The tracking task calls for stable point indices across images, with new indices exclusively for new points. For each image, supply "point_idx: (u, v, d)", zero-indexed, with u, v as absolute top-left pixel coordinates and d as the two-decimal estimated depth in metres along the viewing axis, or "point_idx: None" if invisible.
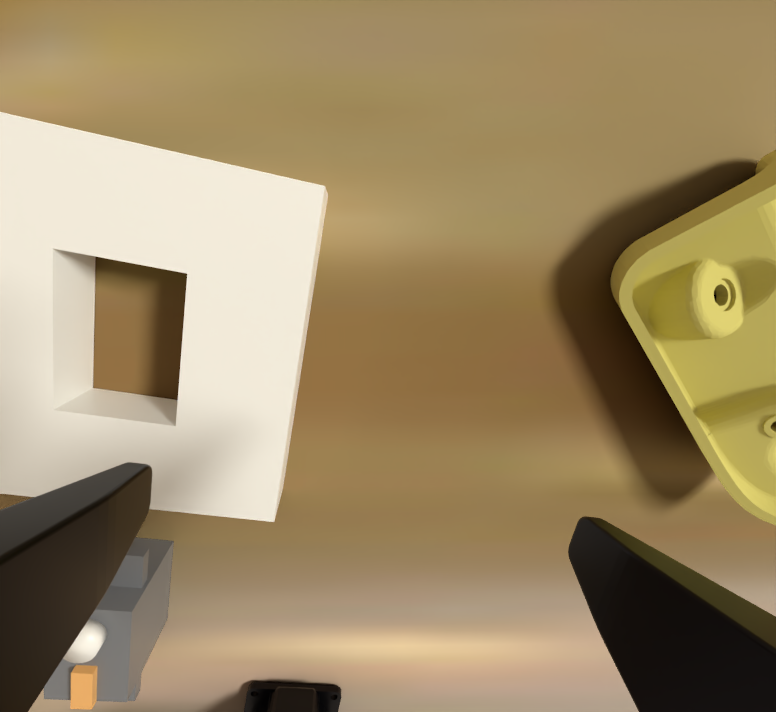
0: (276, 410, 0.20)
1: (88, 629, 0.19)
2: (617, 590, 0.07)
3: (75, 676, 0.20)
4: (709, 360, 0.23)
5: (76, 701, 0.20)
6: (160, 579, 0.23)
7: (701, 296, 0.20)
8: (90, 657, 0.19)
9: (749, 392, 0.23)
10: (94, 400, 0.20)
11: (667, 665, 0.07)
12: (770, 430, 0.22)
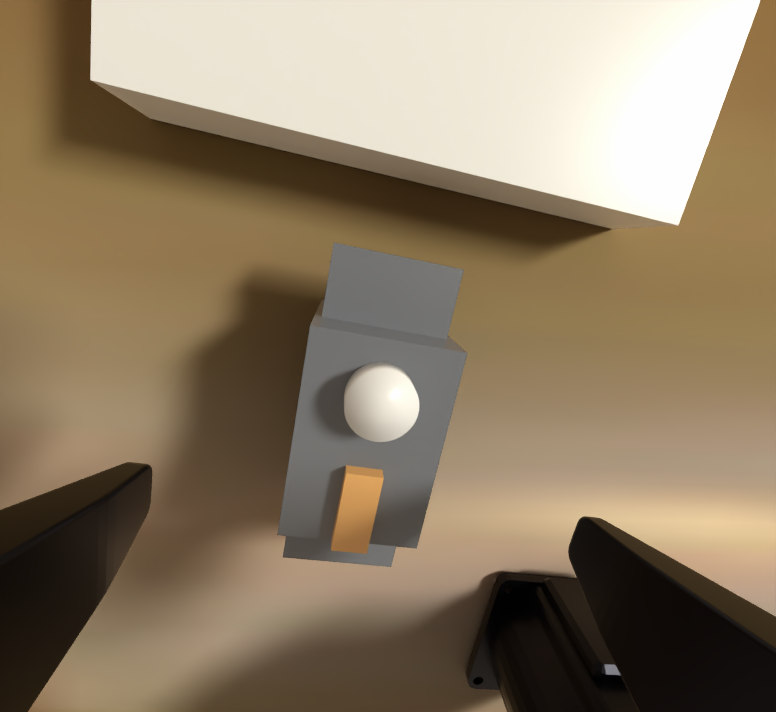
0: None
1: (400, 372, 0.10)
2: (617, 590, 0.07)
3: (352, 481, 0.10)
4: None
5: (344, 535, 0.11)
6: None
7: None
8: (401, 430, 0.10)
9: None
10: None
11: (668, 665, 0.07)
12: None
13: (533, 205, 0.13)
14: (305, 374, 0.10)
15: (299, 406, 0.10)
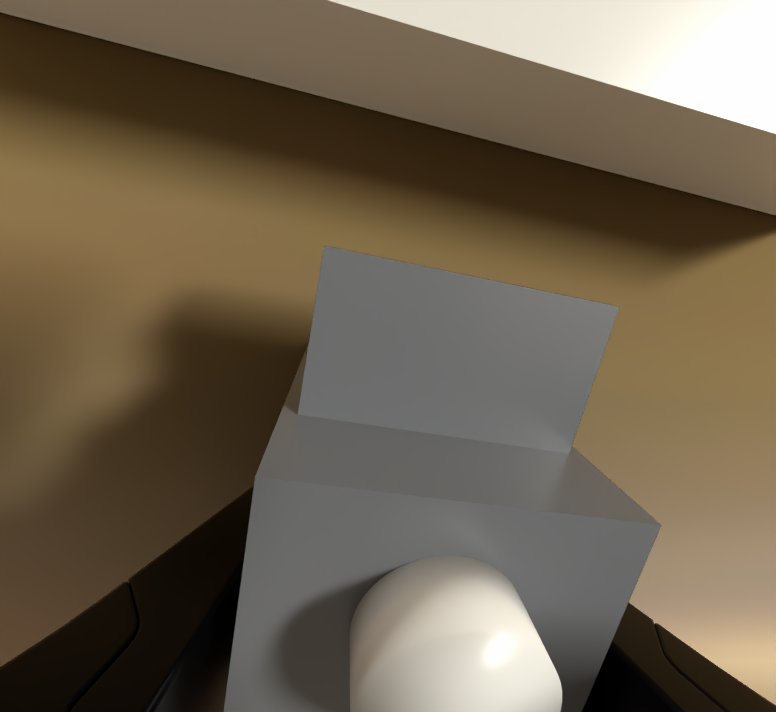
0: None
1: (506, 607, 0.03)
2: None
3: None
4: None
5: None
6: None
7: None
8: None
9: None
10: None
11: None
12: None
13: (694, 178, 0.07)
14: (247, 594, 0.04)
15: (234, 666, 0.04)
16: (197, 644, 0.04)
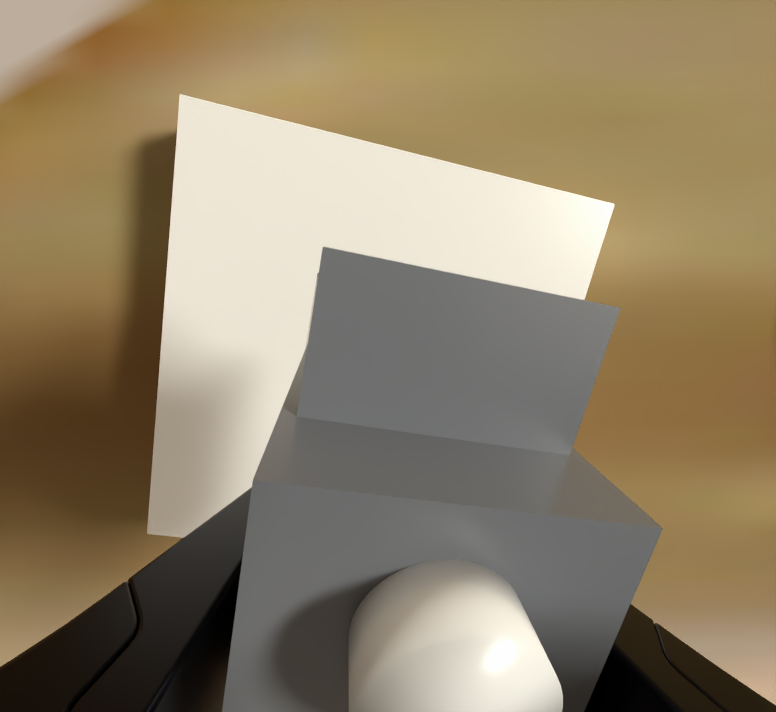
0: None
1: (506, 612, 0.03)
2: None
3: None
4: None
5: None
6: None
7: None
8: None
9: None
10: None
11: None
12: None
13: None
14: (245, 598, 0.04)
15: (232, 670, 0.04)
16: (197, 644, 0.04)
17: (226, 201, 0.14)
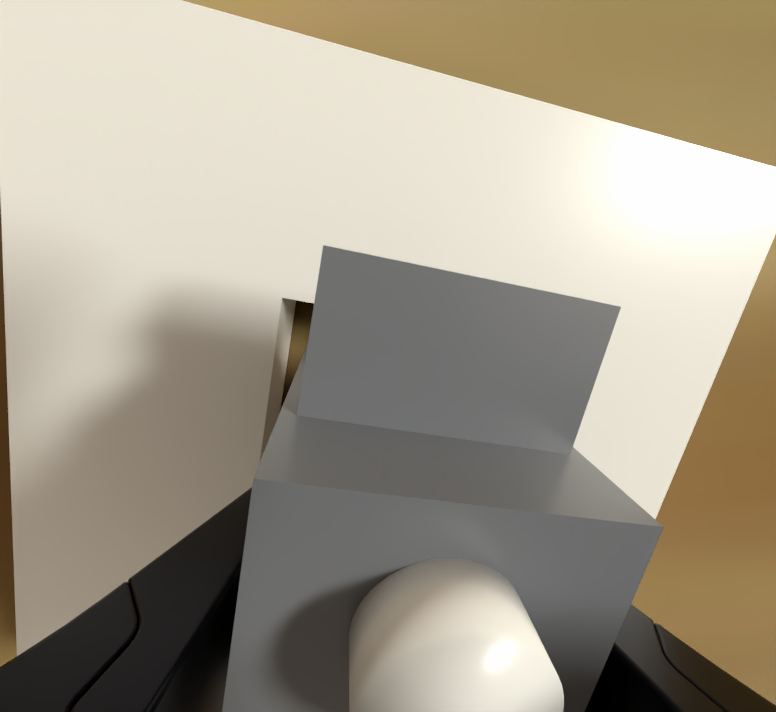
0: None
1: (507, 611, 0.03)
2: None
3: None
4: None
5: None
6: None
7: None
8: None
9: None
10: None
11: None
12: None
13: None
14: (245, 597, 0.04)
15: (232, 669, 0.04)
16: (197, 644, 0.04)
17: (105, 169, 0.07)
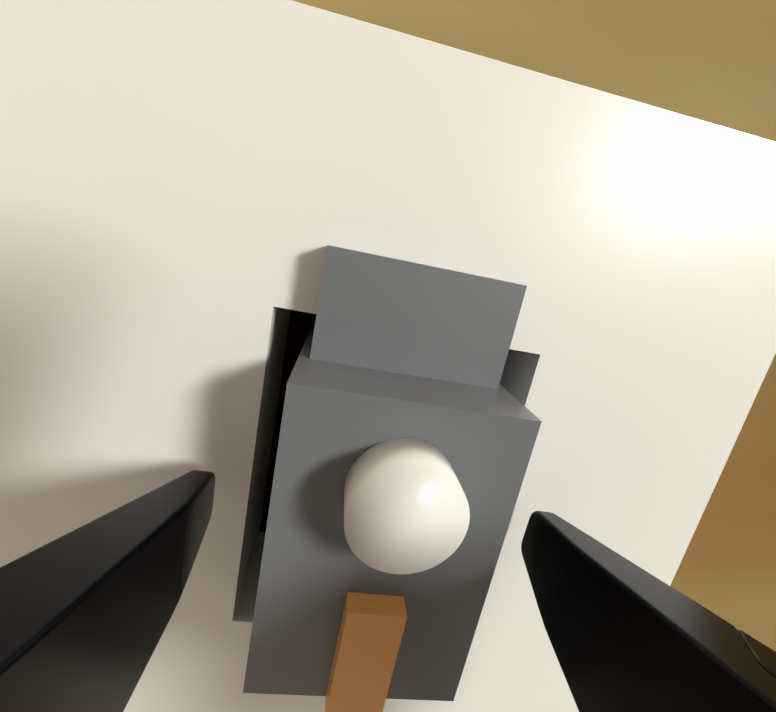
0: None
1: (438, 460, 0.06)
2: (561, 585, 0.07)
3: (357, 623, 0.07)
4: None
5: (345, 700, 0.07)
6: None
7: None
8: (439, 555, 0.06)
9: None
10: None
11: (605, 661, 0.06)
12: None
13: None
14: (280, 460, 0.06)
15: (272, 509, 0.06)
16: (51, 636, 0.04)
17: (67, 158, 0.06)
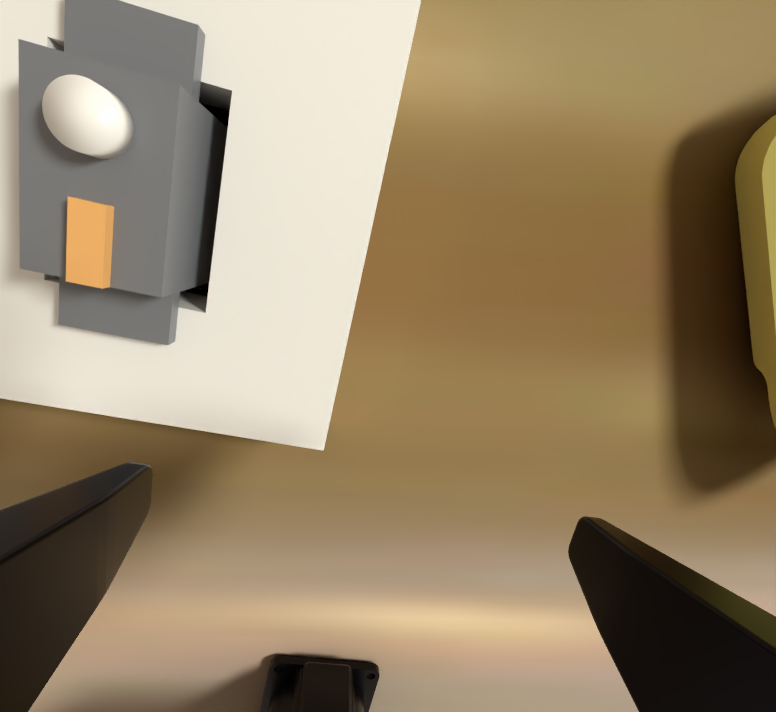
0: (337, 299, 0.15)
1: (102, 86, 0.10)
2: (617, 590, 0.07)
3: (75, 206, 0.11)
4: None
5: (77, 266, 0.12)
6: (213, 160, 0.15)
7: None
8: (104, 142, 0.11)
9: None
10: None
11: (666, 664, 0.07)
12: None
13: None
14: (21, 92, 0.11)
15: (20, 127, 0.11)
16: None
17: None
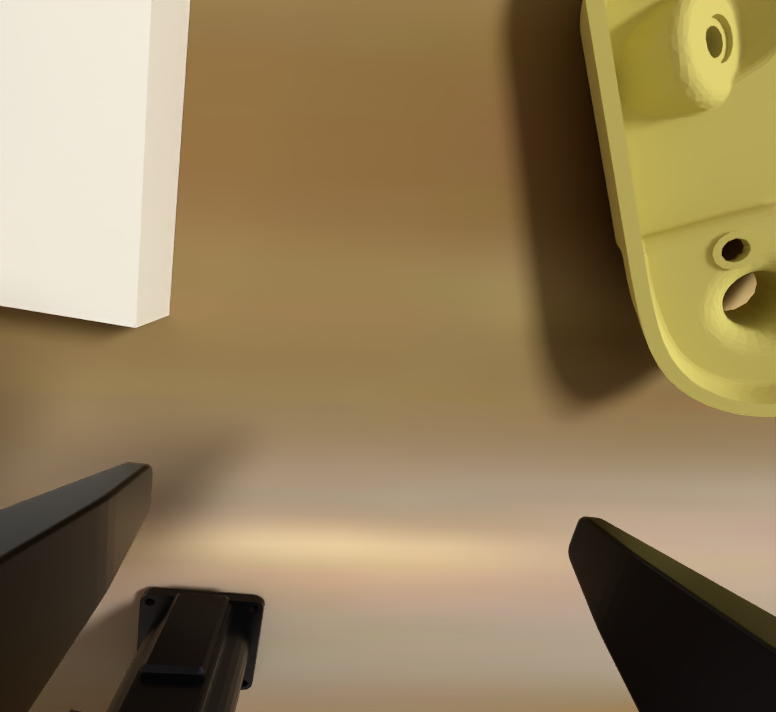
0: (122, 147, 0.14)
1: None
2: (617, 590, 0.07)
3: None
4: (671, 154, 0.17)
5: None
6: None
7: (691, 15, 0.15)
8: None
9: (707, 212, 0.17)
10: None
11: (667, 664, 0.07)
12: (720, 255, 0.16)
13: None
14: None
15: None
16: None
17: None
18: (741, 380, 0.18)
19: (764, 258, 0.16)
